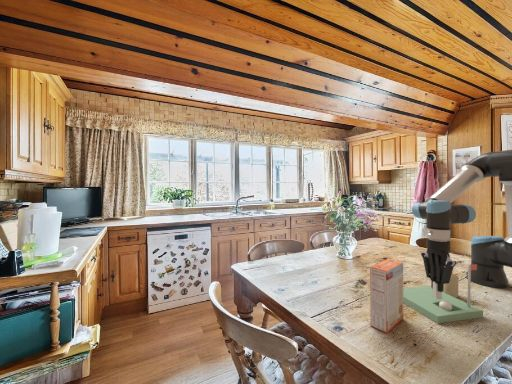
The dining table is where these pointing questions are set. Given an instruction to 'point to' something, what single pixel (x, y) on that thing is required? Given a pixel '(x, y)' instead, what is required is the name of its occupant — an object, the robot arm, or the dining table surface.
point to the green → (429, 306)
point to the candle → (452, 286)
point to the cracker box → (386, 294)
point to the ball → (445, 306)
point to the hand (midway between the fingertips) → (437, 298)
